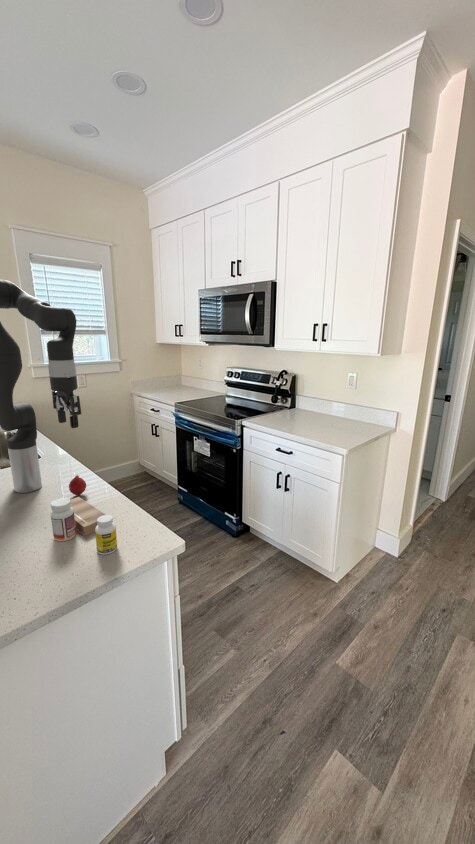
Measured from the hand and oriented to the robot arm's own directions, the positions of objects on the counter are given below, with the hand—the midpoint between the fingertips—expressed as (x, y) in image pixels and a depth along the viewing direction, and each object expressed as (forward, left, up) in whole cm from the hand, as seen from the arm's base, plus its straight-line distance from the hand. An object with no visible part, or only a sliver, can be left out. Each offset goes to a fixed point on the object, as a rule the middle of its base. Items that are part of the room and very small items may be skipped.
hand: (68, 425), depth 112 cm
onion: (-10, +5, -30) cm, 32 cm away
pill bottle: (+13, -10, -30) cm, 34 cm away
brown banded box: (+7, -2, -30) cm, 31 cm away
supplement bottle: (+28, -5, -30) cm, 42 cm away
